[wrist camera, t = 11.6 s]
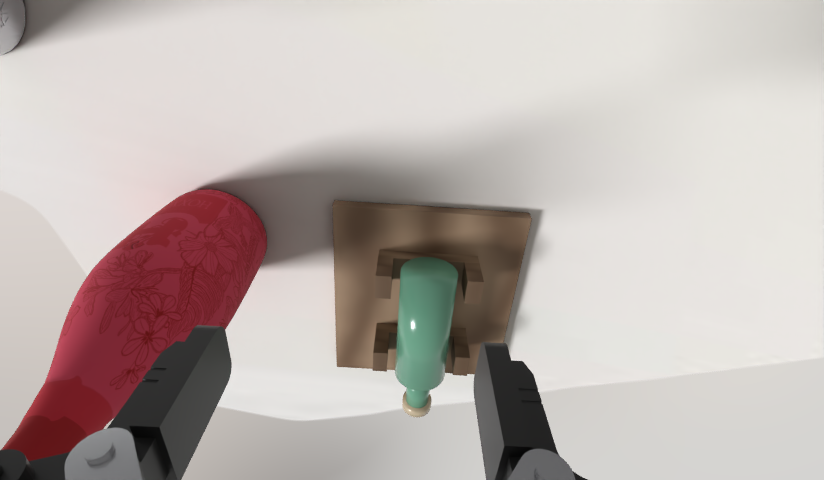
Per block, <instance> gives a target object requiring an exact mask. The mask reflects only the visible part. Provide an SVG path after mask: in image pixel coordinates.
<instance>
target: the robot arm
mask: <svg viewBox="0 0 824 480" xmlns="http://www.w3.org/2000/svg"><path fill="white" fill-rule="evenodd" d="M24 27H25V7H24V3H23V0H0V56H1V55H3V54H5V53H7V52H9V51H11V50H12V49H13V48H14V47H15V46H16V45H17V44H18V43H19V41H20V39H21V37H22V35H23V32H24ZM230 374H231V358H230V353H229V347H228V342H227V337H226V332H225V329H224V327H222V326H206V325H197V326H195V327H194V328H193V330H192V331H191V333H190V334H189V336H188V337H187V339H186V340H185V342H183V341H176V342H175V343H173V344H172V345H171V346H169V347H168V348H167V349H165V350H164V351H163V352H162V353H160V355H159V356H158V358H157V359H156V360H155V362H154V363H153V365H152V366H151V369H150V370H148V372H147V373H146V375H145V376H144V377H143V379H142V382H140V383H139V384H138V386H137V387H136V389H135V390H134V391H133V393H132V394H131V396H130V397H129V399H128V400H127V401H126V403H125V404H124V406H123V407H122V408H121V410H120V411H119V413H118V414H117V415H116V417H115V418H114V420H113V421H112V422H111V424H110V425H109V427H108V428H107V429H103V430H100V431H98V432H95V433H93V434H91V435H89V436H88V437H86V438H85V439H83V440H82V441H81V442H79V443H78V444H77V445H76V446H75V447H74V448H73V449H72V451H71V452H67V453H63V454H59V455H54V456H50V457H46V458H41V459H37V460H32V461H28V460H27V458H26V456H25V455H24V454H23V453H22V452H21V451H18V450H14V449H6V450H0V480H181V479H182V477H183V474H184V472H185V470H186V468H187V466H188V464H189V462H190V460H191V458H192V456H193V454H194V452H195V450H196V448H197V446H198V443H199V441H200V439H201V437H202V435H203V433H204V431H205V429H206V427H207V425H208V423H209V421H210V418H211V416H212V414H213V412H214V410H215V408H216V406H217V404H218V402H219V400H220V398H221V396H222V394H223V392H224V390H225V388H226V385H227V383H228V381H229V378H230ZM474 398H475V405H476V411H477V419H478V426H479V433H480V439H481V446H482V453H483V460H484V467H485V474H486V480H587V479H585V478H582V477H580V476H579V475H577V474H576V473H574V472H573V471H572V469H571V468H570V466H569V465H568V464H567V462H565V461H564V459H562V458H561V457H560V456H559V454H558V452H557V450H556V447H555V443H554V440H553V437H552V434H551V430H550V427H549V424H548V421H547V417H546V414H545V411H544V408H543V405H542V404H541V398H540V395H539V392H538V388H537V385H536V382H535V379H534V375H533V374H532V372H531V371H530V370H529V369H528V367H527V366H526V365H525V364H524V362H523V361H511V358H510V355H509V351H508V347H507V345H506V344H505V343H491V342H482V343H481V346H480V351H479V356H478V361H477V366H476V371H475V376H474Z"/></svg>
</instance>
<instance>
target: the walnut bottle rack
mask: <svg viewBox="0 0 824 480" xmlns="http://www.w3.org/2000/svg"><path fill="white" fill-rule="evenodd" d="M531 220H532V218H531V216H530V214H529V213H523V212H508V211H492V210H477V209H461V208H446V207H430V206H415V205H400V204H384V203H369V202H353V201H338V200H335V201H334V203H333V241H334V278H335V315H336V352H337V367H351V368H370V369H373V371H387V369H388V370H395V362H396V344H397V327H398V309H399V292H400V274H401V267H402V266H403V264H404V263H406V262H407V261H409V260H411V259H414V258H419V257H433V258H438V259H442V260H444V261H447V262H448V263H450V264H452V265H453V266H454V267H455V268H456V270H457V272H458V280H457V288H456V295H455V302H454V309H453V317H452V324H451V331H450V338H449V346H448V353H447V360H446V367H445V373H453V375H464V376H467V374H475V371H476V366H477V361H478V356H479V351H480V346H481V343H482V342H491V343H503V341H504V337H505V333H506V328H507V324H508V320H509V315H510V311H511V307H512V302H513V298H514V294H515V289H516V285H517V281H518V276H519V272H520V268H521V263H522V259H523V255H524V250H525V246H526V242H527V237H528V233H529V229H530V224H531Z"/></svg>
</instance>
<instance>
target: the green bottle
mask: <svg viewBox="0 0 824 480" xmlns="http://www.w3.org/2000/svg"><path fill="white" fill-rule="evenodd" d="M457 280H458V272H457V270H456V268H455V267H454V266H453V265H452V264H450V263H448V262H447V261H444V260H442V259H438V258H433V257H419V258H414V259H411V260H409V261H407V262H406V263H404V264H403V266H402V267H401V274H400V292H399V309H398V327H397V344H396V362H395V374H396V377H397V379H398V380H399V382H400V383H401V384H402V385H404V386H405V387H407V389H406V392H405V393H404V395H403V404H402V405H403V409H404V411H405V412H406V413H407V414H408V415H410V416H413V417H422V416H424V415H426V414H427V413H428V412H429V410H430V407H431V396H430V394H429V391H430V390H431V389H433V388H435V387H437V386H438V385H439V384H440V383H441V382H442V381H443V379H444V375H445V367H446V360H447V353H448V346H449V338H450V331H451V324H452V317H453V309H454V302H455V295H456V288H457Z"/></svg>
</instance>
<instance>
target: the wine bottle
mask: <svg viewBox="0 0 824 480" xmlns="http://www.w3.org/2000/svg"><path fill="white" fill-rule="evenodd" d="M266 248H267V237H266V232H265V229H264V226H263V224H262V222H261V220H260V219H259V217H258V216H257V214H256V213H255V212H254V211H253V210H252V209H251V208H250V207H249V206H248V205H247V204H246V203H244V202H243V201H241V200H240V199H238V198H237V197H235V196H233V195H230V194H228V193H225V192H222V191H217V190H209V189H202V190H195V191H191V192H188V193H185V194H183V195H181V196H179V197H178V198H176V199H175V200H173V201H172V202H170V203H169V204H168V205H166V206H165V207H164V208H162V209H161V210H160V211H158V212H157V213H156V214H154V215H153V216H152V217H151V218H149V219H148V220H147V221H146V222H144V223H143V224H142V225H141V226H139V227H138V228H137V229H136V230H134V231H133V232H132V233H131V234H129V235H128V236H127V237H126V238H125V239H123V240H122V241H121V242H120V243H119V244H118V245H117V246H115V247H114V248H113V249H112V250H111V251H110V252H109V253H108V254H107V255H106V256H105V257H104V258H103V259H102V260H101V261H100V262H99V263H98V264H97V265H96V266H95V267H94V268H93V270H92V271H91V272H90V274H89V275H88V277H87V278H86V280H85V281H84V282H83V284H82V286H81V288H80V289H79V291H78V293H77V295H76V297H75V299H74V301H73V303H72V305H71V307H70V310H69V312H68V315H67V317H66V320H65V323H64V325H63V328H62V331H61V335H60V338H59V341H58V345H57V349H56V351H55V355H54V358H53V361H52V364H51V367H50V370H49V373H48V376H47V378H46V381H45V384H44V385H43V387H42V388H41V390H40V391H39V393H38V395H37V396H36V398H35V400H34V402H33V404H32V405H31V407H30V408H29V410H28V412H27V413H26V415H25V416H24V418H23V420H22V422H21V424H20V425H19V427H18V428H17V430H16V431H15V433H14V434H13V435H12V437H11V438H10V439H9V441H8V442H7V443H6V445H5V446H4V447H3V448H2V450H6V449H14V450H18V451H21V452H22V453H23V454H24V455H25V456H26V458H27V460H28V461H32V460H37V459H41V458H46V457H50V456H54V455H59V454H63V453H67V452H71V451H72V449H73V448H74V447H75V446H76V445H77V444H78V443H79V442H81V441H82V440H83V439H85V438H86V437H88V436H89V435H91V434H93V433H95V432H98V431H100V430H103V428H104V427H105V426H106V424H107V423H108V422H109V421H111V420H112V419H113V418H115V417H116V415H117V414H118V413H119V411H120V410H121V408H122V407H123V406H124V404H125V403H126V401H127V400H128V399H129V397H130V396H131V394H132V393H133V391H134V390H135V389H136V387H137V386H138V384H139V383H140V382H142V379H143V377H144V376H145V375H146V373H147V372H148V370H150V369H151V366H152V365H153V363H154V362H155V360H156V359H157V358H158V356H159V355H160V353H162V352H163V351H164V350H165V349H167V348H168V347H169V346H171V345H172V344H173V343H175V342H176V341H183V342H185V340H186V339H187V337H188V336H189V334H190V333H191V331H192V330H193V328H194V327H195V326H197V325H206V326H222V327H224V329H226V327H227V326H228V324H229V323H230V321H231V319H232V318H233V316H234V314H235V313H236V311H237V309H238V307H239V306H240V304H241V302H242V300H243V298H244V296H245V295H246V293H247V291H248V289H249V287H250V285H251V283H252V281H253V279H254V277H255V275H256V273H257V271H258V269H259V267H260V265H261V263H262V261H263V258H264V256H265V253H266Z"/></svg>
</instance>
